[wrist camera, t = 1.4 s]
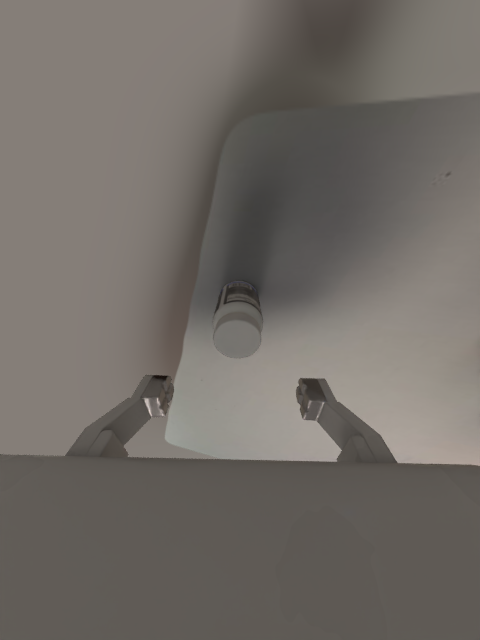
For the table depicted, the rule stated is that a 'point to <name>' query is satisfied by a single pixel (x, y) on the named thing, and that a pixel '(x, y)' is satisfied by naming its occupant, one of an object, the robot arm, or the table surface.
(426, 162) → the table surface
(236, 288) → the pill bottle
